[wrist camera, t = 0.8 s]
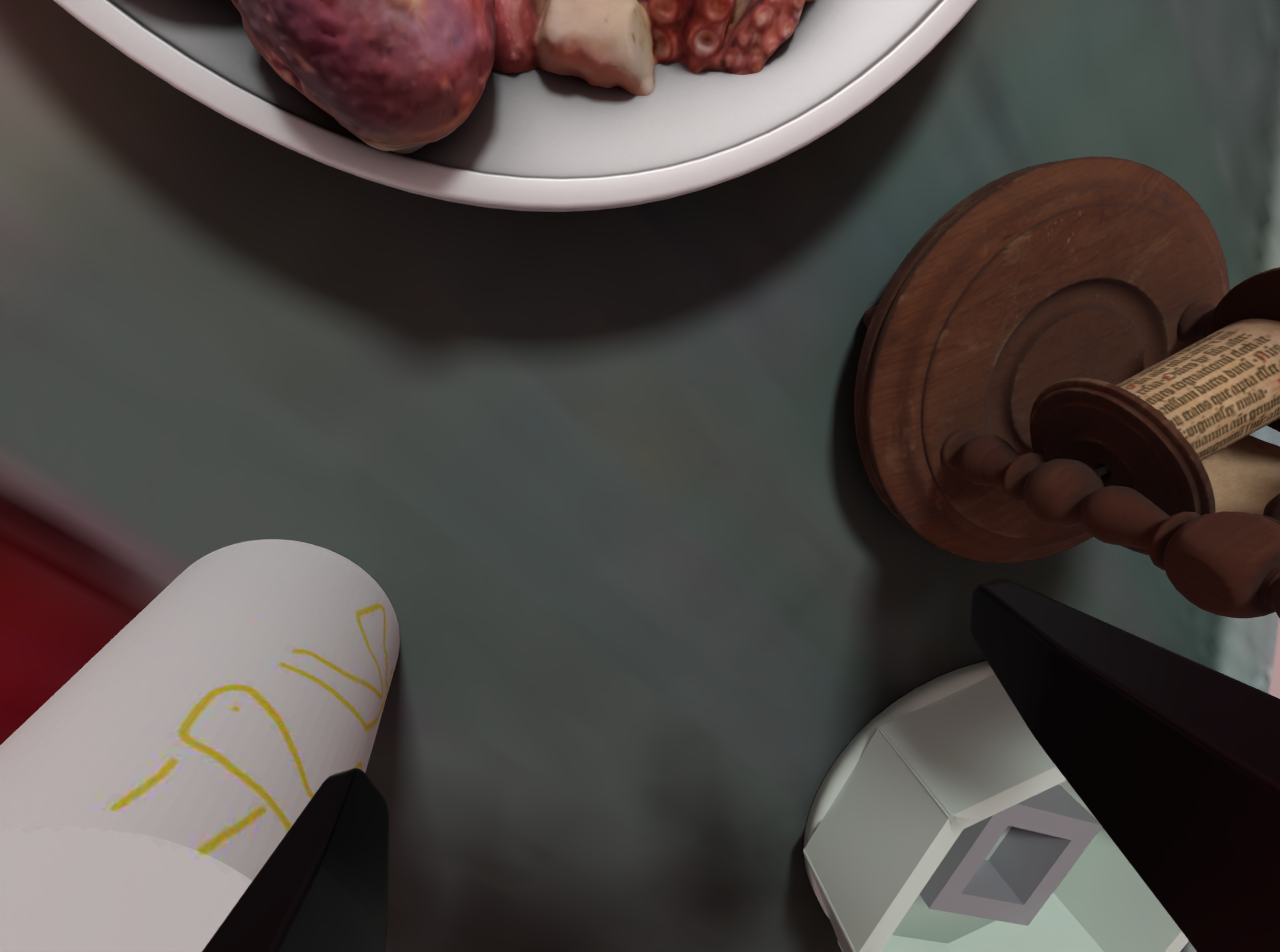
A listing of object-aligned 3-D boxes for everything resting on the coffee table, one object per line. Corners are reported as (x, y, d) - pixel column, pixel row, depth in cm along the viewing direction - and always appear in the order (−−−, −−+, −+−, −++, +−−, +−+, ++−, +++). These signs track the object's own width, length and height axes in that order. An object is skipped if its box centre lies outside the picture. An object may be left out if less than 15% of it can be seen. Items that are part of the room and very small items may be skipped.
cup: (418, 710, 25) (345, 1068, 14) (196, 751, 24) (-78, 1179, 13) (374, 523, 22) (241, 783, 11) (121, 558, 21) (-311, 889, 10)
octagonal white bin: (1000, 952, 38) (1084, 1071, 33) (742, 913, 33) (790, 1047, 27) (1181, 706, 34) (1313, 793, 28) (922, 614, 29) (1023, 699, 23)
